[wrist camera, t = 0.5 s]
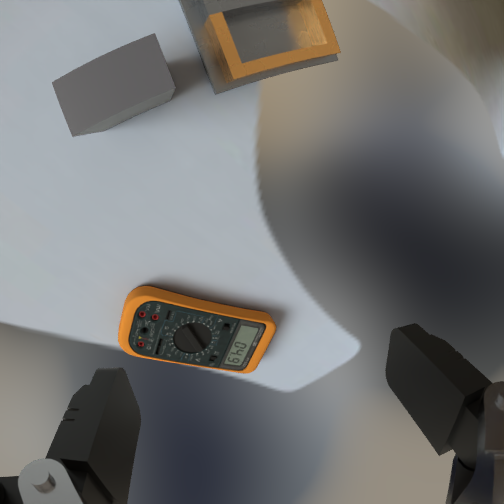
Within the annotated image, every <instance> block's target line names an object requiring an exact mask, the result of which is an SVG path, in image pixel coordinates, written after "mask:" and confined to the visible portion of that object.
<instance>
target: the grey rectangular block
mask: <svg viewBox="0 0 504 504" xmlns="http://www.w3.org/2000/svg"><path fill="white" fill-rule="evenodd" d="M52 84H53V87H54V90H55V93H56V95H57V98H58V101H59V104H60V106H61V109H62V111H63V114H64V117H65V119H66V122H67V124H68V127H69V129H70V132H71V134H72V137H74V136H80V135H85V134H91V133H96V132H102V131H105V130H107V129H109V128H111V127H113V126H115V125H117V124H119V123H121V122H124V121H126V120H128V119H130V118H132V117H134V116H136V115H139V114H141V113H143V112H145V111H148V110H150V109H152V108H154V107H157V106H159V105H161V104H164V103H166V102H169V101H170V99H171V97H172V95H173V93H174V91H175V89H176V87H175V84H174V82H173V79H172V77H171V74H170V71H169V69H168V66H167V64H166V61H165V58H164V56H163V53H162V51H161V48H160V45H159V43H158V40H157V38H156V35H155V33H154V34H151V35H149V36H146V37H144V38H141V39H139V40H136V41H134V42H131V43H129V44H127V45H124V46H122V47H120V48H118V49H115V50H113V51H111V52H109V53H107V54H105V55H102V56H100V57H98V58H96V59H94V60H92V61H90V62H88V63H86V64H84V65H82V66H80V67H79V68H77V69H75V70H73V71H71V72H69V73H68V74H66V75H64V76H62V77H60V78H59V79H57V80H55V81H54V82H52Z"/></svg>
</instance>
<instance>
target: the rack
mask: <svg viewBox="0 0 504 504" xmlns="http://www.w3.org/2000/svg"><path fill="white" fill-rule="evenodd" d="M179 2H180V5H181V7H182V10H183V12H184V15H185V17H186V20H187V23H188V25H189V28H190V30H191V33H192V35H193V38H194V41H195V43H196V46H197V48H198V51H199V53H200V56H201V59H202V61H203V64H204V67H205V69H206V72H207V74H208V77H209V80H210V82H211V85H212V88H213V90H214V93H215V95H216V94H218V93H221V92H224V91H227V90H230V89H233V88H236V87H239V86H242V85H245V84H249V83H252V82H255V81H258V80H262V79H265V78H268V77H272V76H276V75H279V74H283V73H286V72H290V71H294V70H298V69H302V68H307V67H311V66H315V65H319V64H324V63H328V62H333V61H337V60H338V58H337V56H336V54H337V53H340V49H339V46H338V43H337V40H336V37H335V34H334V32H333V29H332V26H331V23H330V20H329V18H328V15H327V13H326V10H325V7H324V5H323V2H322V0H179Z"/></svg>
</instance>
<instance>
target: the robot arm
mask: <svg viewBox="0 0 504 504" xmlns="http://www.w3.org/2000/svg"><path fill="white" fill-rule="evenodd" d="M386 379H387V382H388V385H389V386H390V388H391V389H392V391H393V392H394V393H395V395H396V396H397V397H398V399H399V400H400V401H401V403H402V404H403V406H404V407H405V409H406V410H407V411H408V413H409V414H410V415H411V417H412V418H413V420H414V421H415V422H416V424H417V425H418V427H419V428H420V429H421V431H422V432H423V434H424V435H425V436H426V438H427V439H428V440H429V442H430V443H431V445H432V446H433V447H434V449H435V451H436V452H437V453H438V455H439V456H440V455H442V454H444V453H446V452H448V451H450V450H452V449H453V450H454V452H455V453H456V454H455V456H454V459H453V463H452V470H451V476H450V483H449V489H448V494H447V499H446V504H504V382H503V381H500V382H495V383H492V382H491V381H489V380H488V379H487V378H486V377H485V376H484V375H483V374H482V373H481V372H480V371H479V370H477V369H476V368H475V367H474V366H473V365H472V364H471V363H470V362H469V361H467V360H466V359H464V358H463V356H462V355H461V354H460V353H459V352H458V351H455V349H454V348H453V347H452V346H451V345H450V344H448V343H447V342H446V341H445V340H443V339H440V338H438V337H436V336H434V335H429V334H428V333H427V332H426V331H425V330H423V328H421V327H420V326H419V325H418V324H415V323H414V324H410V325H407V326H403V327H399V328H395V329H393V330H392V332H391V336H390V344H389V350H388V357H387V363H386ZM67 409H68V411H66V412H65V414H64V416H63V421H61V423H60V425H59V427H58V430H57V432H56V434H55V437H54V439H53V441H52V444H51V446H50V448H49V451H48V453H47V456H46V458H45V459H38V460H35V461H33V462H31V463H29V464H28V465H27V466H26V467H25V468H24V469H23V470H22V471H21V473H20V475H19V476H13V477H0V504H127V500H128V494H129V487H130V480H131V475H132V469H133V463H134V457H135V451H136V446H137V441H138V435H139V430H140V425H141V415H140V410H139V406H138V404H137V401H136V398H135V396H134V393H133V391H132V388H131V385H130V383H129V380H128V377H127V374H126V372H125V370H124V369H123V368H98V369H97V370H96V372H95V374H94V376H93V379H92V381H91V383H90V385H84V386H83V387H81V388H80V389H79V391H77V392H76V393H75V394H74V395H73V397H72V399H71V401H70V403H69V406H68V408H67Z"/></svg>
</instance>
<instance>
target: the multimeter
mask: <svg viewBox="0 0 504 504" xmlns="http://www.w3.org/2000/svg"><path fill="white" fill-rule="evenodd" d="M275 331H276V324H275V323H274V321H273V319H272V318H271V316H270V315H269V314H268V313H266V312H261V311H255V310H249V309H243V308H238V307H233V306H228V305H223V304H219V303H214V302H209V301H205V300H201V299H196V298H192V297H188V296H185V295H181V294H177V293H173V292H170V291H166V290H162V289H159V288H155V287H152V286H141V287H137V288H135V289H133V290H132V291H131V292H130V293H129V294H128V296H127V298H126V300H125V303H124V308H123V312H122V316H121V320H120V325H119V332H118V342H119V344H120V346H121V348H122V349H123V350H124V351H125V352H127V353H128V354H131V355H133V356H137V357H142V358H148V359H154V360H160V361H166V362H173V363H179V364H185V365H191V366H198V367H205V368H212V369H218V370H225V371H231V372H238V373H250V372H252V371H254V370H255V369H256V368H257V366H258V364H259V362H260V360H261V359H262V357H263V355H264V353H265V351H266V349H267V347H268V345H269V343H270V341H271V339H272V337H273V335H274V333H275Z"/></svg>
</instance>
